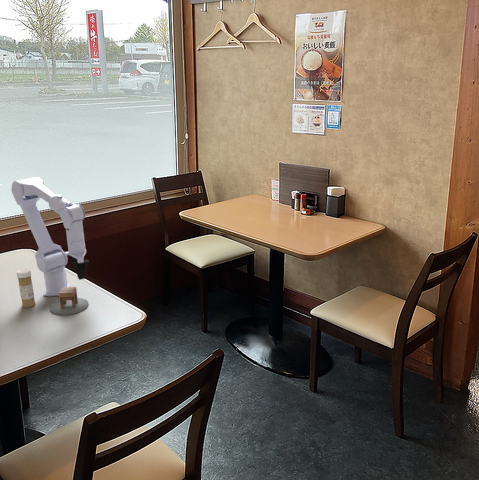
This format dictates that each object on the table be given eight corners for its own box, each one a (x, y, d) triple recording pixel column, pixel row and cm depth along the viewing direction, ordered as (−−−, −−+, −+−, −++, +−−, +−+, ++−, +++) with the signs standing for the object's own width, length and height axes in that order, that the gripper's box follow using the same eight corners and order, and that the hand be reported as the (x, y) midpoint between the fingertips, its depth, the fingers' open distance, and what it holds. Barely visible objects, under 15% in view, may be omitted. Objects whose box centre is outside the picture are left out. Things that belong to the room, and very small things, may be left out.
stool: (63, 302, 183) (61, 287, 181) (78, 301, 184) (76, 286, 182) (60, 308, 179) (58, 293, 177) (75, 308, 179) (73, 292, 177)
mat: (55, 299, 187) (55, 298, 187) (91, 298, 188) (91, 296, 188) (45, 316, 175) (45, 314, 174) (84, 314, 176) (84, 312, 176)
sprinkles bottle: (32, 301, 186) (26, 267, 182) (37, 305, 183) (32, 270, 179) (19, 305, 183) (14, 270, 179) (25, 309, 180) (19, 274, 176)
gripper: (61, 235, 182) (65, 270, 187) (66, 247, 170) (71, 284, 174) (81, 232, 185) (85, 267, 190) (88, 243, 173) (92, 280, 177)
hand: (80, 275), depth 182 cm, fingers open, 7 cm apart
